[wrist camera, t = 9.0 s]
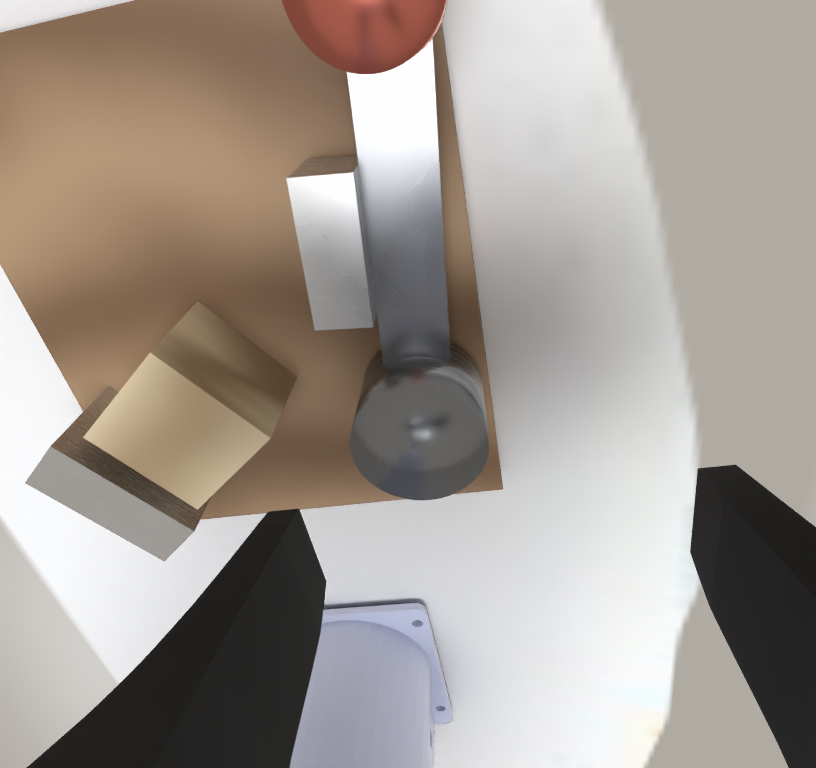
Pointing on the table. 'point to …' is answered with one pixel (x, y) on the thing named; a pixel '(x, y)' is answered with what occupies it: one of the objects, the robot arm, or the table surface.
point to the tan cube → (195, 407)
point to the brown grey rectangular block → (113, 489)
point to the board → (199, 216)
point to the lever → (389, 248)
